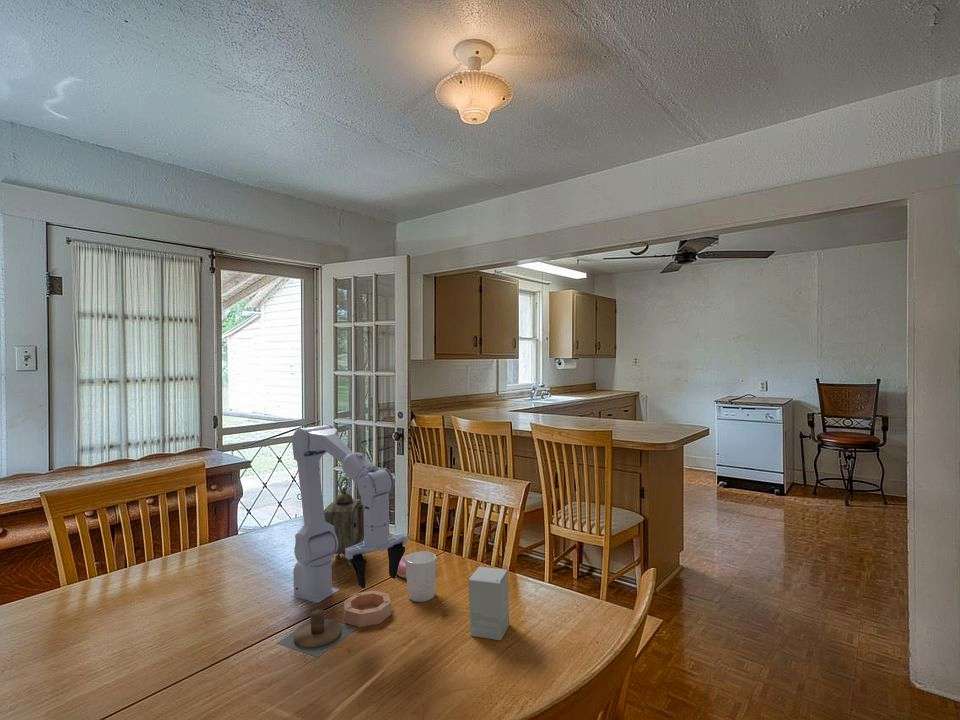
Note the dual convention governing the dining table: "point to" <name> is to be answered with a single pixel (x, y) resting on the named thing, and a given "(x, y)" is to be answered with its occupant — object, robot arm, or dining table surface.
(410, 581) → the white cup
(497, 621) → the supplement box
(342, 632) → the mat
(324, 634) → the lid
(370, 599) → the bowl
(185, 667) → the dining table surface
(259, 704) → the dining table surface
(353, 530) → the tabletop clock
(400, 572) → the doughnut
